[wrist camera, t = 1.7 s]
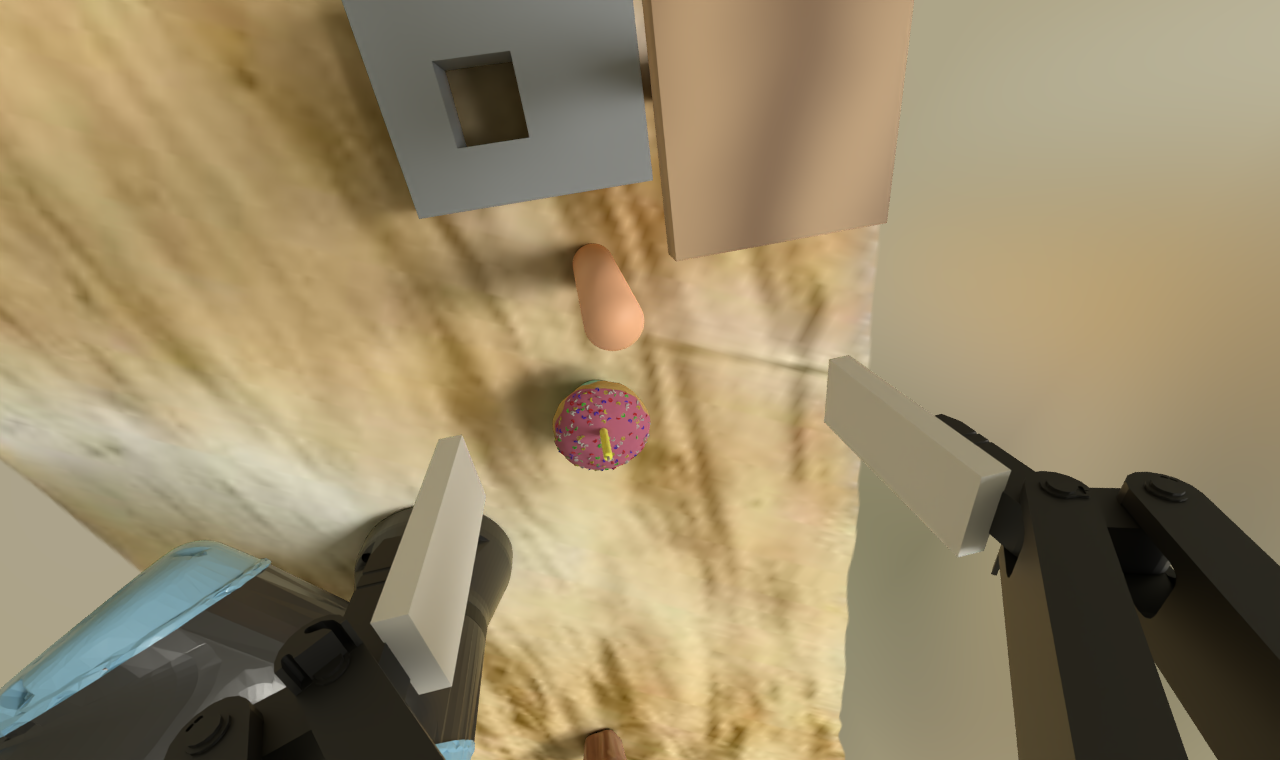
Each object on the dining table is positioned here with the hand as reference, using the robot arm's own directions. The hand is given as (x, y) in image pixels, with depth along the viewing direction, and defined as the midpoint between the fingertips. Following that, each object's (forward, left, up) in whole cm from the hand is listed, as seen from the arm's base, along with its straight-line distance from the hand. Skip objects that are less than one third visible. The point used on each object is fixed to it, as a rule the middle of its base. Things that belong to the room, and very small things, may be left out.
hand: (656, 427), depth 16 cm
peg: (0, 0, -25) cm, 25 cm away
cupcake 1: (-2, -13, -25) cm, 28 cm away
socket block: (-3, +12, -25) cm, 28 cm away
